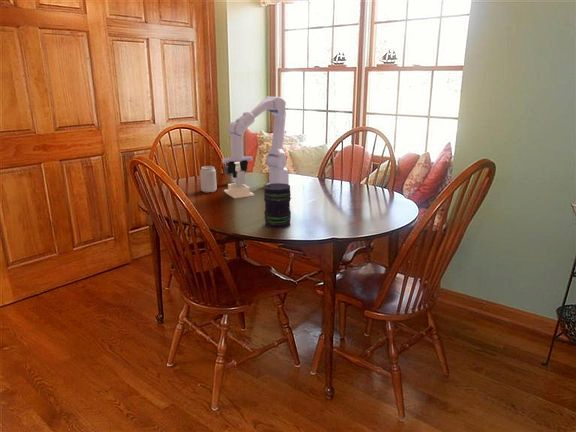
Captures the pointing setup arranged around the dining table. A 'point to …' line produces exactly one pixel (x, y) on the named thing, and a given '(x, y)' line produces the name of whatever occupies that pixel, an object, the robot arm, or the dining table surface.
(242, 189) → the hollow block
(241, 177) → the grey block
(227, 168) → the pneumatic valve
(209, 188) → the can
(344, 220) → the dining table surface
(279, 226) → the storage jar
